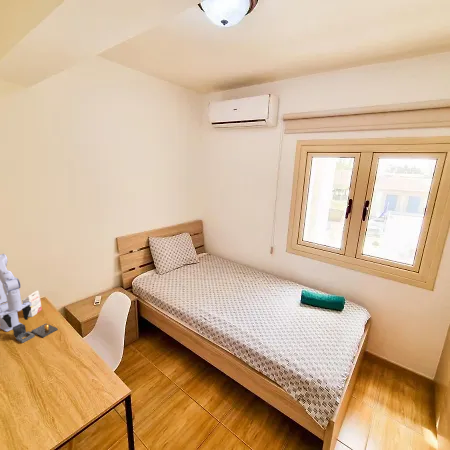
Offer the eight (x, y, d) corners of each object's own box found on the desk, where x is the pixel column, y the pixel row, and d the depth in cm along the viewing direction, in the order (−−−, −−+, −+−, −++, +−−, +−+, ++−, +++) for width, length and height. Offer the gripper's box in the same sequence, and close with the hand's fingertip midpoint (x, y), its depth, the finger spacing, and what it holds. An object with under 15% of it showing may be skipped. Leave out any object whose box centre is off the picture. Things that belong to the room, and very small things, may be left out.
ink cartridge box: (34, 309, 165) (31, 289, 162) (42, 309, 165) (39, 289, 162) (24, 317, 157) (20, 295, 154) (32, 317, 157) (28, 295, 154)
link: (12, 337, 137) (10, 328, 136) (24, 331, 142) (22, 322, 141) (22, 343, 133) (20, 333, 132) (34, 336, 138) (33, 327, 137)
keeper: (31, 332, 142) (30, 325, 141) (46, 324, 149) (45, 318, 148) (43, 337, 138) (41, 330, 137) (57, 329, 145) (56, 322, 144)
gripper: (2, 308, 126) (6, 332, 129) (33, 296, 139) (36, 318, 142) (-6, 305, 129) (-1, 328, 132) (26, 293, 142) (29, 315, 145)
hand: (18, 323), depth 137 cm, fingers open, 7 cm apart
